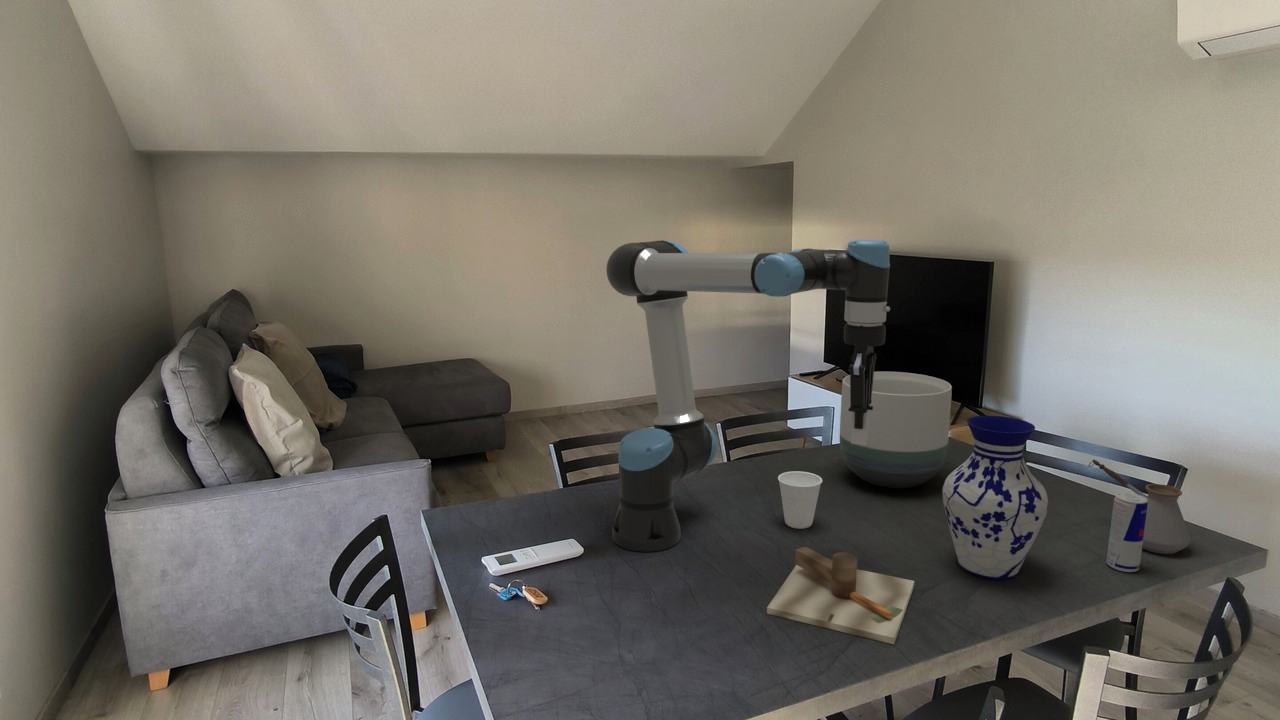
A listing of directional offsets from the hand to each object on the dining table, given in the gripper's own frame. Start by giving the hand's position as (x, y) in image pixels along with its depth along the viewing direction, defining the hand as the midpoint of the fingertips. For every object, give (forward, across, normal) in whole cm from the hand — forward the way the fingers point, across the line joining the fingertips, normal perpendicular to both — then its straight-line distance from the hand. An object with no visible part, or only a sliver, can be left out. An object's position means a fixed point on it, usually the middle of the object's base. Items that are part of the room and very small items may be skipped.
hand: (859, 443), depth 148 cm
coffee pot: (+27, +42, -51) cm, 71 cm away
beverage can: (+27, +25, -48) cm, 60 cm away
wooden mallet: (+25, -13, -1) cm, 28 cm away
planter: (+27, +54, +2) cm, 60 cm away
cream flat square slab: (+26, -13, -1) cm, 29 cm away
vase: (+27, +13, -24) cm, 38 cm away
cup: (+27, +17, +16) cm, 35 cm away
